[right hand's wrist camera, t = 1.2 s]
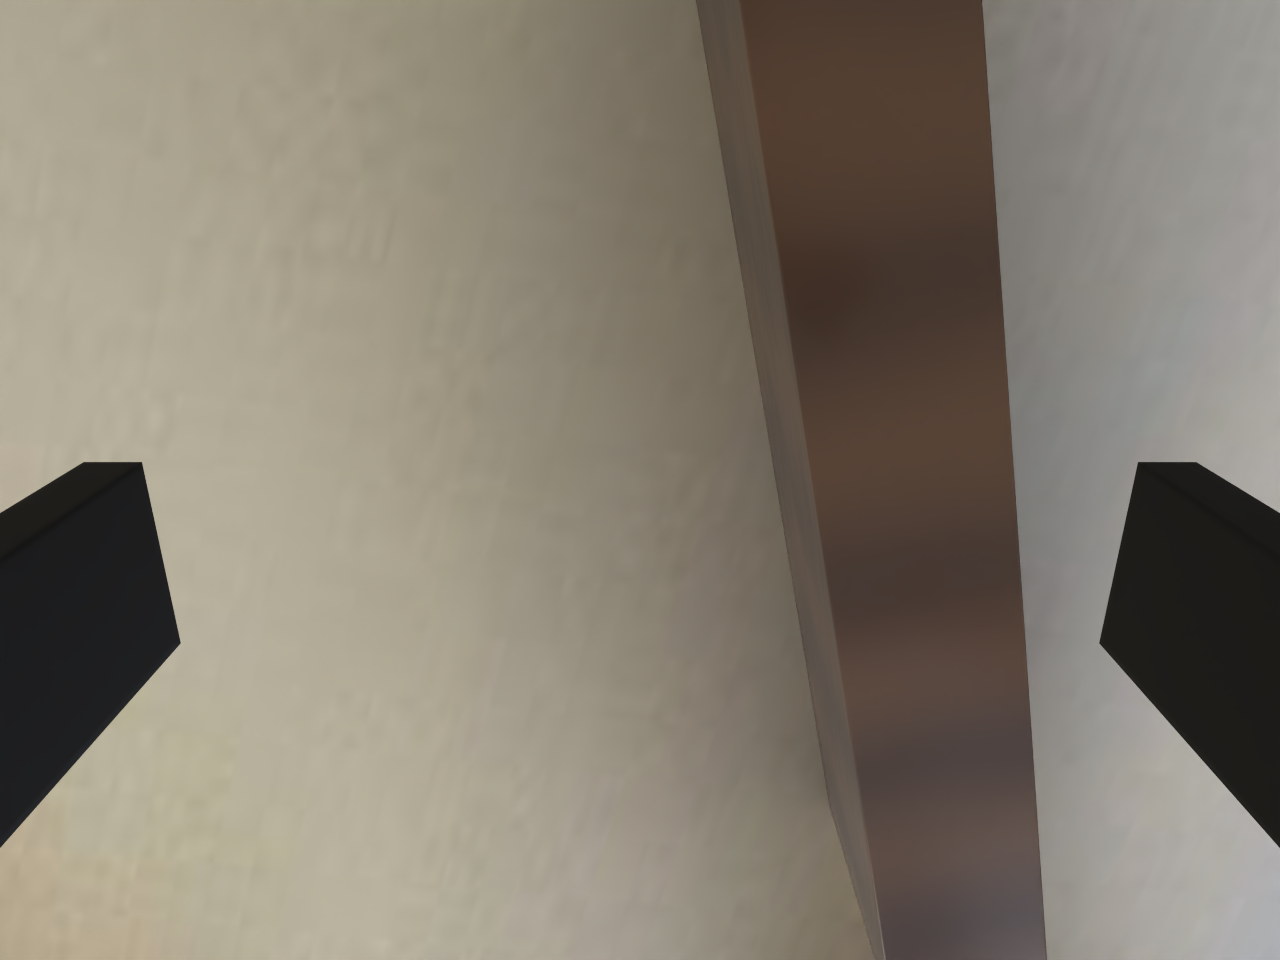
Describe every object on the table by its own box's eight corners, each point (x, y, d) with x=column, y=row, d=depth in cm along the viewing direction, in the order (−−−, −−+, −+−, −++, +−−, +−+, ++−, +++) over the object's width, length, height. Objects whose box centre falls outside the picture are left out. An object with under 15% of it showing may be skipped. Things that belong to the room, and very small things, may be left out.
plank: (679, -103, 27) (703, -233, 18) (846, -143, 27) (963, -298, 17) (830, 808, 39) (893, 1022, 29) (948, 788, 38) (1050, 997, 29)
